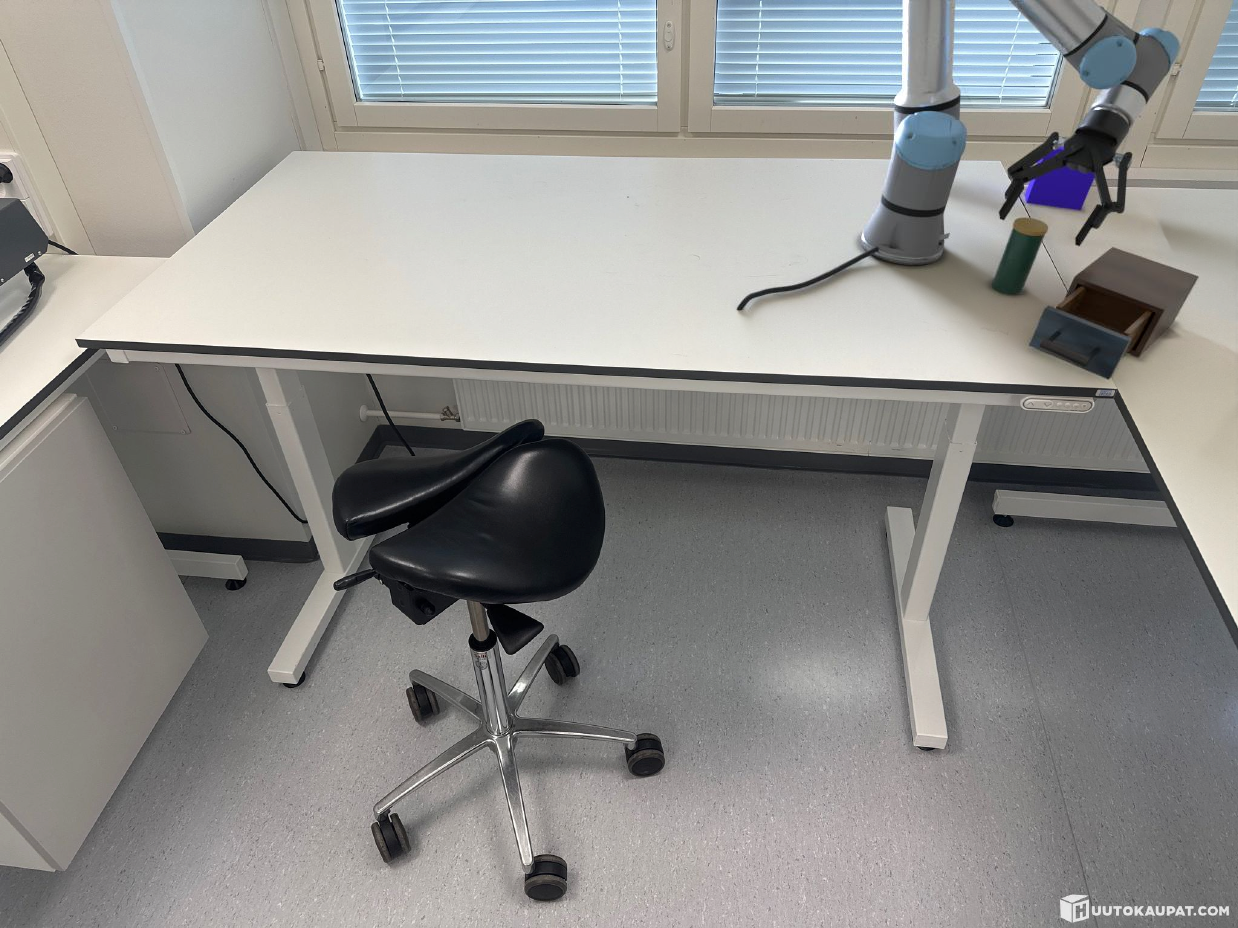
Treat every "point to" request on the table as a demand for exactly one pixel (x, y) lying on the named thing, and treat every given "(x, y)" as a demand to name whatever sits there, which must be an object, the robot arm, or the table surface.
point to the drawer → (1091, 330)
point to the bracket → (1060, 187)
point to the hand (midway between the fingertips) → (1038, 229)
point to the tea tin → (1019, 255)
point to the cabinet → (1139, 288)
